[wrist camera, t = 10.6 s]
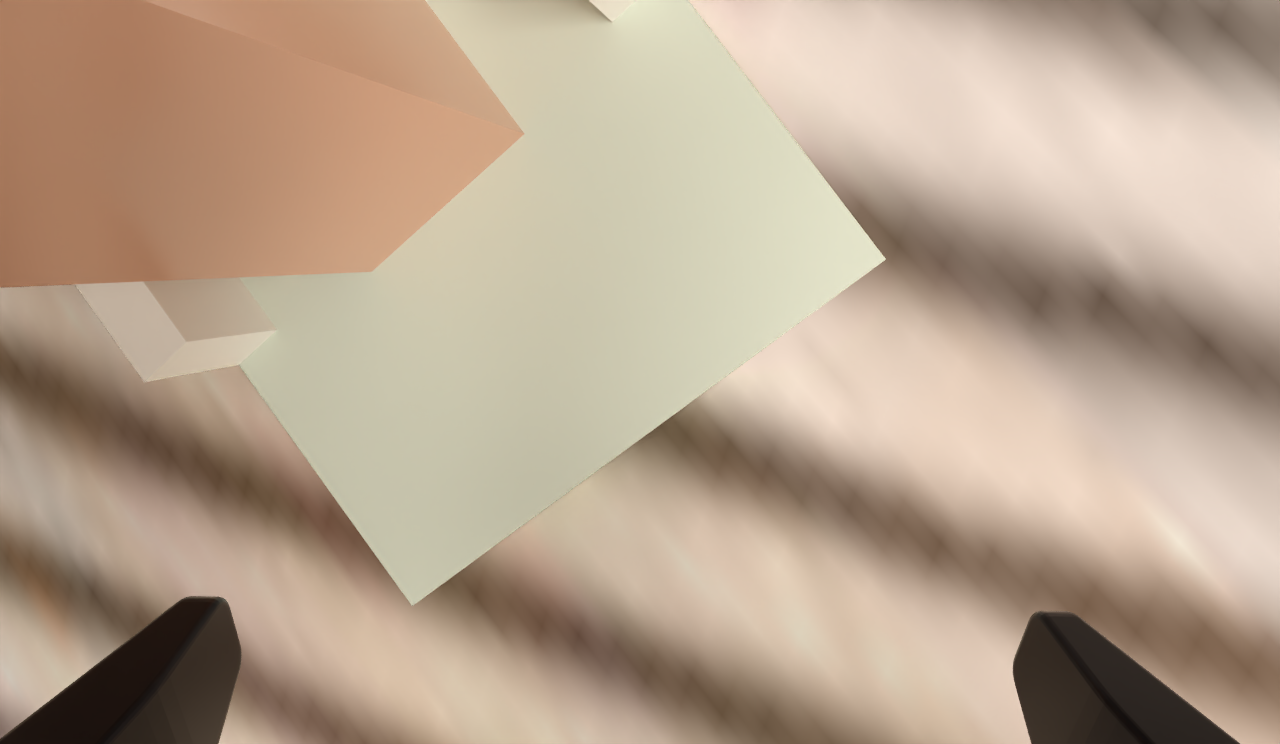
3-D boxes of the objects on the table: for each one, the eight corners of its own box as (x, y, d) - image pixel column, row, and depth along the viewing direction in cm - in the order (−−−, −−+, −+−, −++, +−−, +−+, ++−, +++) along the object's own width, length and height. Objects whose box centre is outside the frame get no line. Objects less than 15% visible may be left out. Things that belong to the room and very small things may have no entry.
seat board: (884, 258, 19) (890, 261, 15) (431, 591, 22) (342, 660, 19) (442, -322, 19) (337, -464, 15) (75, 98, 23) (-81, 68, 19)
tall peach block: (524, 133, 19) (19, -44, 8) (371, 272, 21) (-253, 298, 9) (367, -78, 19) (-353, -559, 8) (226, 72, 21) (-562, -149, 9)
